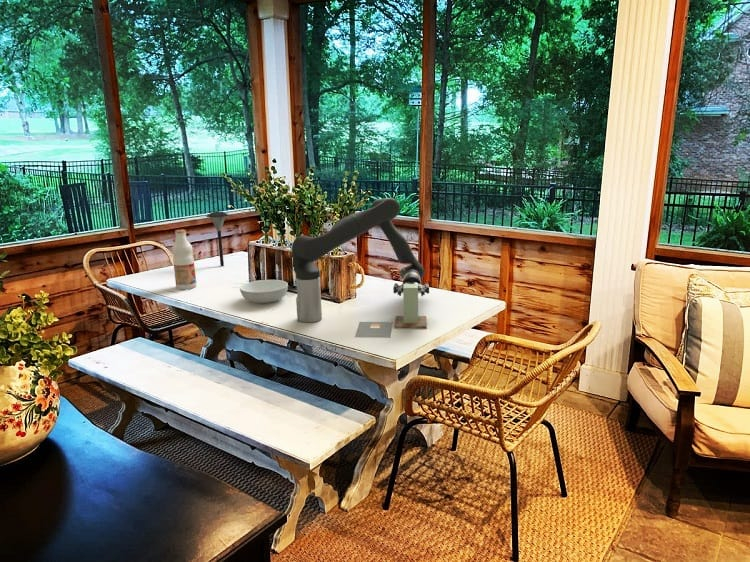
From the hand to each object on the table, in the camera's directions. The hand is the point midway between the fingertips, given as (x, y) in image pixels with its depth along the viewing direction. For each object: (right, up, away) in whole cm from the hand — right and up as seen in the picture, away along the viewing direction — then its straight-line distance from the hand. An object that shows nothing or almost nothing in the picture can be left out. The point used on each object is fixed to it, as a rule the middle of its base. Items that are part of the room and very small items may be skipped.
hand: (411, 293), depth 220 cm
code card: (-14, -13, -8) cm, 21 cm away
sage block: (0, -10, -2) cm, 11 cm away
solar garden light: (-99, +13, +95) cm, 138 cm away
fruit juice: (-105, +2, +54) cm, 118 cm away
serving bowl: (-63, -4, +31) cm, 70 cm away
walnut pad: (0, -11, -2) cm, 12 cm away
